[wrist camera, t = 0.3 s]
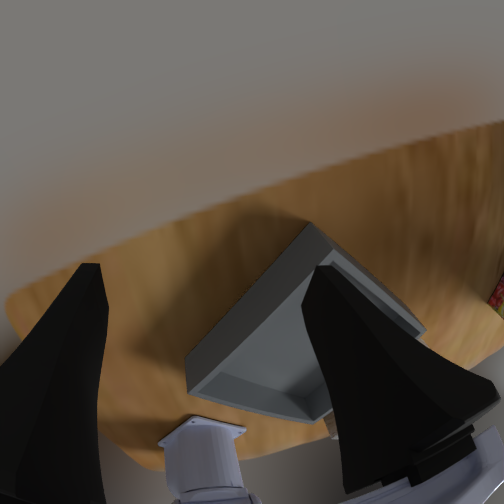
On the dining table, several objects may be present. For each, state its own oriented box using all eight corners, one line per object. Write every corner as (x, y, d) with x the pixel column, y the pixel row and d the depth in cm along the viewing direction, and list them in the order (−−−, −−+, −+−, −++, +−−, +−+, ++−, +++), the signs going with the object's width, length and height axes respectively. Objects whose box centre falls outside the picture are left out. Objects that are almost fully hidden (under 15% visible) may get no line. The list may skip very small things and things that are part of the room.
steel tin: (337, 412, 38) (350, 440, 34) (318, 408, 36) (331, 438, 32) (362, 394, 37) (376, 422, 33) (344, 388, 35) (359, 419, 30)
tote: (302, 397, 33) (312, 424, 30) (184, 358, 26) (187, 393, 23) (406, 305, 29) (427, 330, 26) (310, 221, 22) (333, 248, 18)
